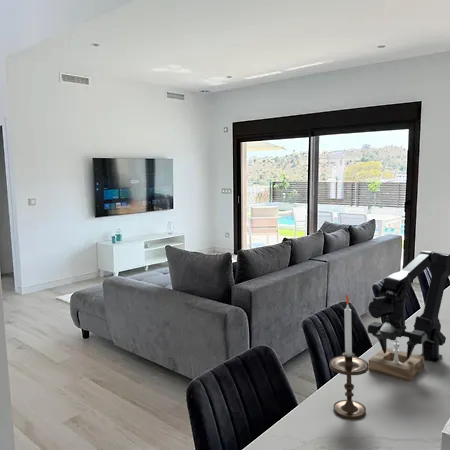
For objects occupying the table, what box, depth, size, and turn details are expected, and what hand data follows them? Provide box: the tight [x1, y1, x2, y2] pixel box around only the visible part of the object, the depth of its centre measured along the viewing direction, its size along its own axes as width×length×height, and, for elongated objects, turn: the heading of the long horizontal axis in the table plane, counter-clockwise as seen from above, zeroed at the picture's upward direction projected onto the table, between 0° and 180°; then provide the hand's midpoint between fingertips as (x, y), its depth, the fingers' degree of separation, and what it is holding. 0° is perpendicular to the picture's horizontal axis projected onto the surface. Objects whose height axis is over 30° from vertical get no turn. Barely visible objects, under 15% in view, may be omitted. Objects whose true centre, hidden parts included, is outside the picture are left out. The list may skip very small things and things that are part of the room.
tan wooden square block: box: [367, 347, 425, 383], centre depth 149 cm, size 14×14×4 cm
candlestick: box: [329, 293, 369, 420], centre depth 122 cm, size 11×11×35 cm
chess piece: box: [392, 338, 403, 364], centre depth 148 cm, size 5×5×10 cm
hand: (396, 355), depth 148 cm, fingers open, 8 cm apart
